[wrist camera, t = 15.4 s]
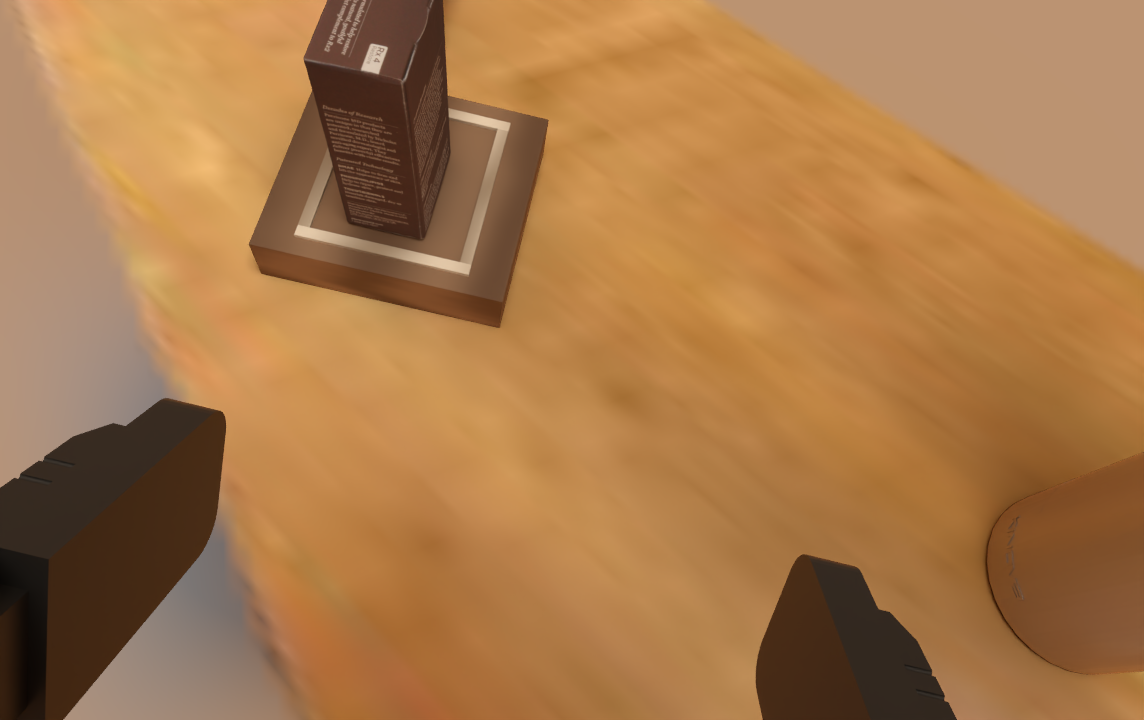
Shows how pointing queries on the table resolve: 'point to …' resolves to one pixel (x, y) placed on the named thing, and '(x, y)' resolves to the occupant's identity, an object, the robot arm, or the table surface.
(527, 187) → the base board
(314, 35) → the box
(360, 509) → the table surface
